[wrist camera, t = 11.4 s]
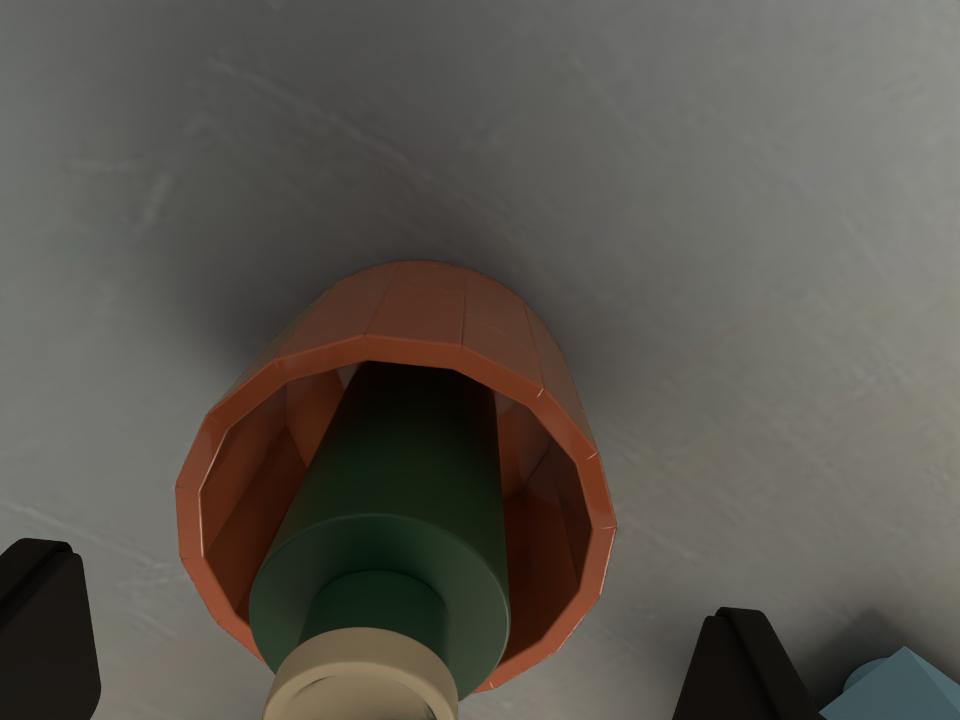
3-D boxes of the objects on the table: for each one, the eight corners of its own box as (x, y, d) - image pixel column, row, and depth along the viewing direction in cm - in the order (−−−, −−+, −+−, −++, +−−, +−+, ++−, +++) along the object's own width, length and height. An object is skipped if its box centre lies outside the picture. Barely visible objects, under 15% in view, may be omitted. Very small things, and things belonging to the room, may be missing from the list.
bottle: (345, 334, 17) (190, 592, 8) (506, 352, 17) (540, 623, 8) (339, 474, 19) (204, 829, 9) (487, 489, 19) (497, 849, 10)
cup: (275, 242, 17) (162, 312, 11) (592, 278, 17) (655, 365, 11) (275, 513, 20) (187, 687, 14) (544, 539, 20) (574, 718, 14)
